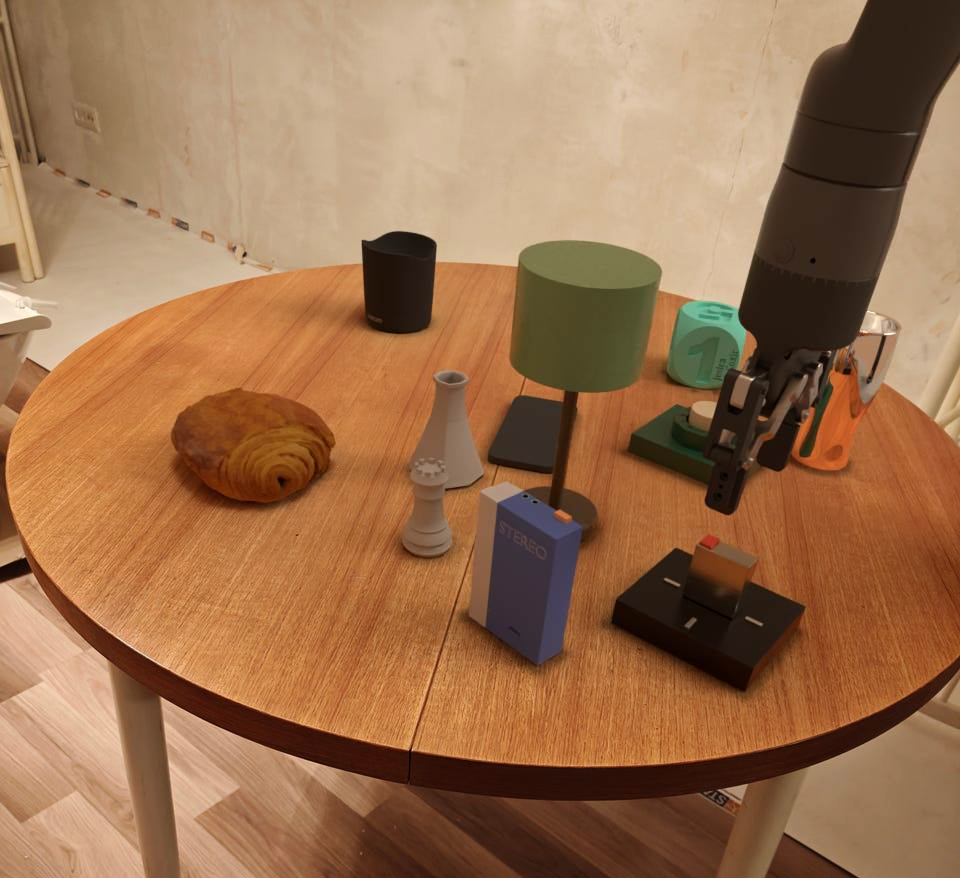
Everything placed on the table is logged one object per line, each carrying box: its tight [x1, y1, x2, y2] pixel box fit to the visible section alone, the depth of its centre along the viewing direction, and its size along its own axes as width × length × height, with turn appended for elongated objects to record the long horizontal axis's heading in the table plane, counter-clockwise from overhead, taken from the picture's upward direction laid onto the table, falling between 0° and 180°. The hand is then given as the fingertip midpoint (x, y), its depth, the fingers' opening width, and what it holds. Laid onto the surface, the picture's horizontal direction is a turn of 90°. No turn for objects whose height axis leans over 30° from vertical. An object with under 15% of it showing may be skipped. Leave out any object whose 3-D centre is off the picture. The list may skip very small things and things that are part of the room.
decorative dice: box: [666, 300, 748, 390], centre depth 108 cm, size 8×8×8 cm
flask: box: [407, 369, 485, 490], centre depth 85 cm, size 7×7×10 cm
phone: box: [487, 394, 578, 474], centre depth 95 cm, size 7×1×15 cm
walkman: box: [468, 480, 583, 667], centre depth 66 cm, size 8×3×12 cm, turn 43°
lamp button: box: [688, 400, 724, 431], centre depth 92 cm, size 4×4×2 cm
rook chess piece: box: [401, 458, 453, 558], centre depth 76 cm, size 4×4×8 cm
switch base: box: [627, 403, 762, 486], centre depth 93 cm, size 12×10×4 cm
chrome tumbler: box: [791, 309, 902, 472], centre depth 91 cm, size 7×7×15 cm
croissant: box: [170, 387, 337, 504], centre depth 84 cm, size 14×16×8 cm
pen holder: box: [360, 230, 438, 334], centre depth 114 cm, size 9×9×10 cm
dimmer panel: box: [610, 547, 807, 693], centre depth 72 cm, size 12×10×3 cm
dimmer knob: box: [682, 533, 760, 619], centre depth 69 cm, size 4×2×5 cm, turn 52°
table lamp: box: [508, 239, 663, 544], centre depth 75 cm, size 11×11×24 cm
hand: (745, 487), depth 64 cm, fingers open, 8 cm apart
